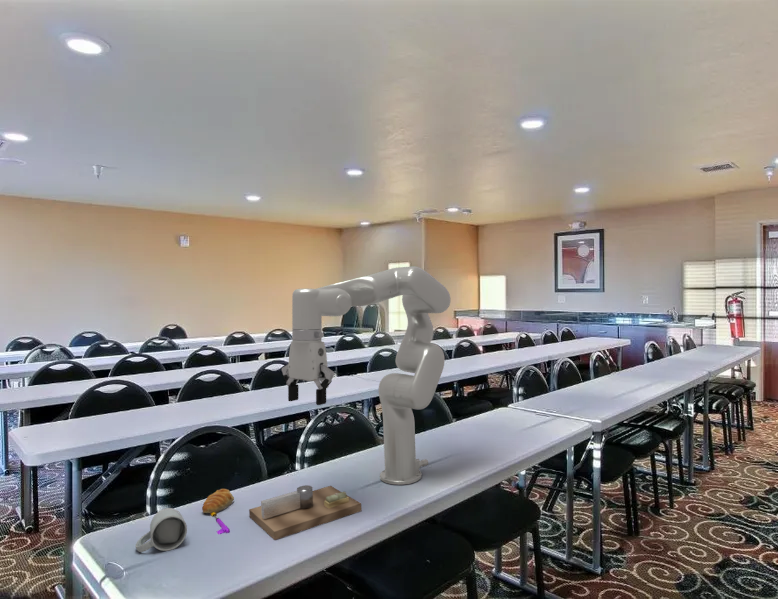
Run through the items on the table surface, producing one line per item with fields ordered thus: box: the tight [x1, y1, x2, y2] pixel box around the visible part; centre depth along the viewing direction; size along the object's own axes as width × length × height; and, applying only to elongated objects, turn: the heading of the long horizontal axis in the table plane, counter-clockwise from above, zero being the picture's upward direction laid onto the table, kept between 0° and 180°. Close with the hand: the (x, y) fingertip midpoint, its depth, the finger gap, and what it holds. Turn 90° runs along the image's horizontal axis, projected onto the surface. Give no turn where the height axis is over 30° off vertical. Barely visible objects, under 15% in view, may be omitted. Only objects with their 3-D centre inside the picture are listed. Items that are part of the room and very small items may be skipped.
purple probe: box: [209, 512, 231, 535], centre depth 131 cm, size 3×1×16 cm
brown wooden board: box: [248, 485, 362, 541], centre depth 133 cm, size 24×16×5 cm, turn 126°
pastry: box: [201, 488, 235, 514], centre depth 139 cm, size 9×7×4 cm
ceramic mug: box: [135, 507, 188, 553], centre depth 120 cm, size 11×8×8 cm
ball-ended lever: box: [260, 484, 314, 519], centre depth 131 cm, size 14×4×4 cm, turn 126°
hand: (307, 402), depth 133 cm, fingers open, 9 cm apart
